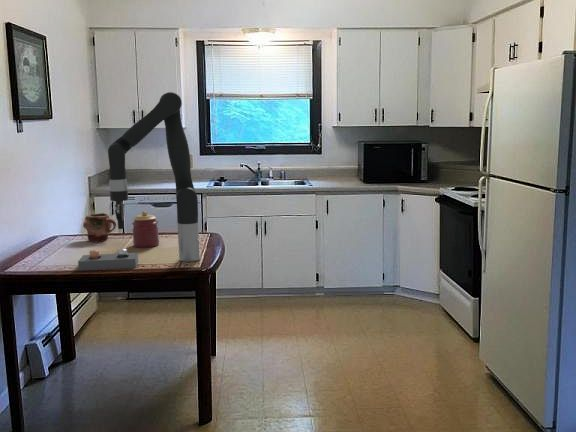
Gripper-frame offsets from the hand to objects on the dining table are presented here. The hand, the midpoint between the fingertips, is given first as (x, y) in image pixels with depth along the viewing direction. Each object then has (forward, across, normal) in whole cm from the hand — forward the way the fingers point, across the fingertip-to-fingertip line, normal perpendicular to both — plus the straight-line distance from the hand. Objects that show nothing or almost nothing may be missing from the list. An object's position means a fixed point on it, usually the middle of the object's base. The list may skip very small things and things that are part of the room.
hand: (121, 228), depth 271 cm
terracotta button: (+12, 0, +12) cm, 17 cm away
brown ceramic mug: (+17, +58, +18) cm, 63 cm away
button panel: (+16, 0, +6) cm, 18 cm away
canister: (+17, +40, -7) cm, 44 cm away
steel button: (+12, 0, 0) cm, 12 cm away
